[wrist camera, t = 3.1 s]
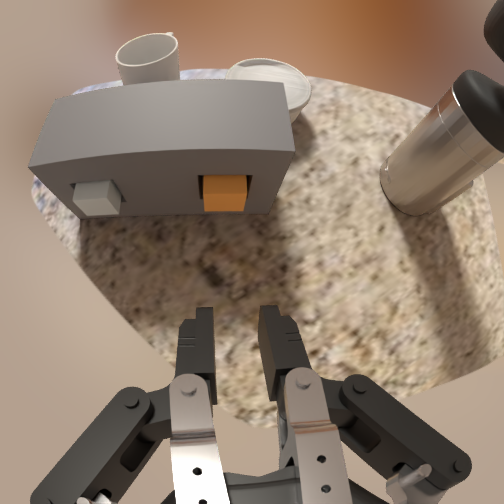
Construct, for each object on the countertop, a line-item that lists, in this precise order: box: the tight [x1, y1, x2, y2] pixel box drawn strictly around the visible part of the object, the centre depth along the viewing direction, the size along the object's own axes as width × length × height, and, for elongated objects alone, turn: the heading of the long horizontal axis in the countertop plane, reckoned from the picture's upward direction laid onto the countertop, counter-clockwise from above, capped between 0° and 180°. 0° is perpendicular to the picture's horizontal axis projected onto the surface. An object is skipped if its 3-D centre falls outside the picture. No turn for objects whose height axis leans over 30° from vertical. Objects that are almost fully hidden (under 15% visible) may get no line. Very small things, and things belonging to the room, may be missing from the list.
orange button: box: [203, 175, 247, 212], centre depth 25 cm, size 4×4×4 cm
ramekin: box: [225, 58, 312, 123], centre depth 34 cm, size 11×11×5 cm
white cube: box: [72, 180, 122, 216], centre depth 24 cm, size 4×4×4 cm
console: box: [28, 79, 295, 219], centre depth 25 cm, size 22×8×12 cm, turn 93°
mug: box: [115, 32, 180, 85], centre depth 28 cm, size 10×7×12 cm, turn 164°
